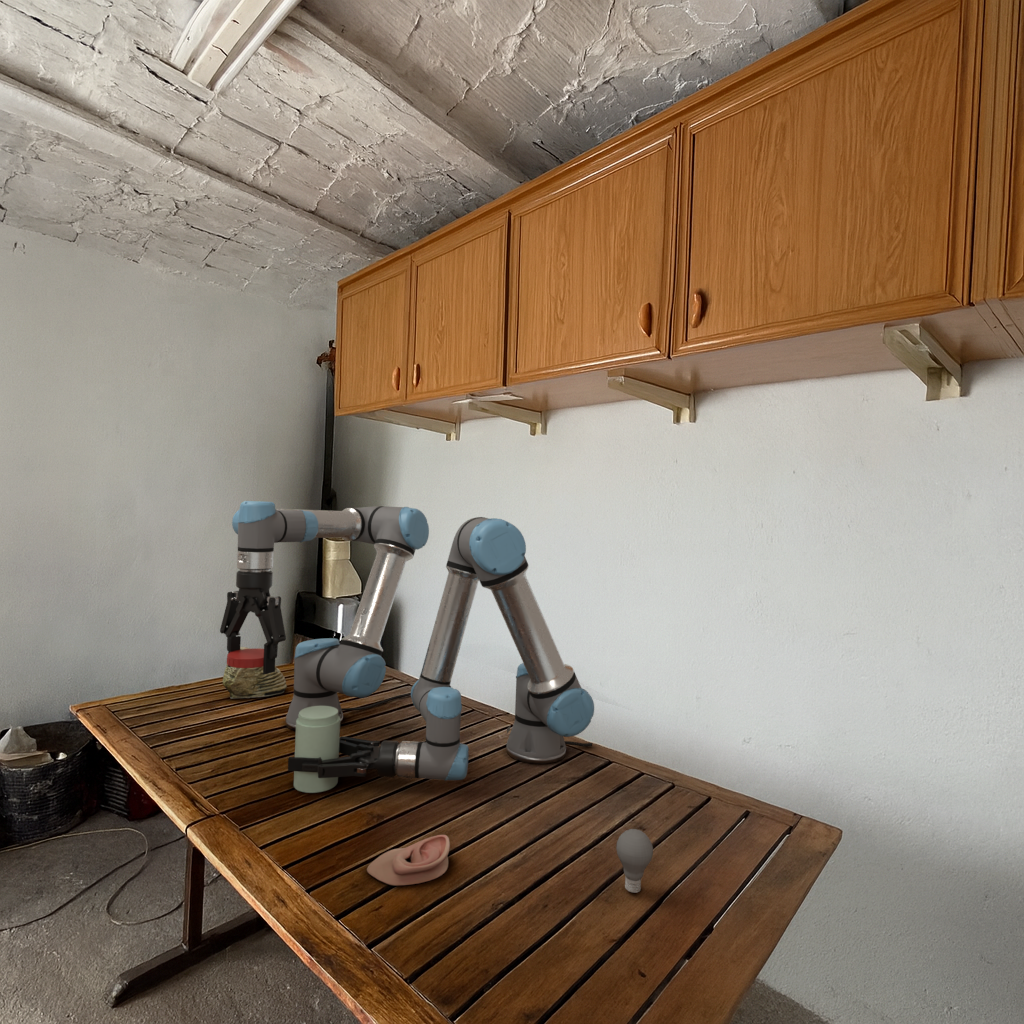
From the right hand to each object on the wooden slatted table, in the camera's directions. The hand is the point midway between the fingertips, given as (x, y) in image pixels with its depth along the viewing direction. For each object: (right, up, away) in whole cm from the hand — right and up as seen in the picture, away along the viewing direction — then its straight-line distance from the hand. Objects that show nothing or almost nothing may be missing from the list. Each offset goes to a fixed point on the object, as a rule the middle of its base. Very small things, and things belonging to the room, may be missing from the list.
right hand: (296, 754), depth 140 cm
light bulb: (+68, -10, -34) cm, 76 cm away
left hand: (-11, +18, +2) cm, 21 cm away
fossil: (-33, -4, +58) cm, 67 cm away
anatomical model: (+30, -8, -30) cm, 43 cm away
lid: (-11, +22, +2) cm, 24 cm away
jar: (+4, -6, 0) cm, 8 cm away
